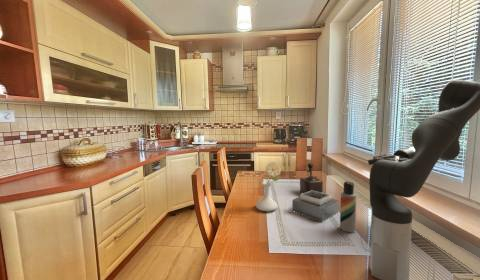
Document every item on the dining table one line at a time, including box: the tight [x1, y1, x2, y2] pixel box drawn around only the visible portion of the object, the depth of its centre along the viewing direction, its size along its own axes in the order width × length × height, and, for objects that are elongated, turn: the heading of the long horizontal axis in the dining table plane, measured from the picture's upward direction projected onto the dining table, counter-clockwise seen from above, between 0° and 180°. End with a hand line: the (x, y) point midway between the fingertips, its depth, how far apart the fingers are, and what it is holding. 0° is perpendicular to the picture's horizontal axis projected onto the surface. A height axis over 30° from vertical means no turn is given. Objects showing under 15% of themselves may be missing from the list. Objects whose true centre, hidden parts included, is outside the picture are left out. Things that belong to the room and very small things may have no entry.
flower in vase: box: [255, 161, 282, 212], centre depth 107 cm, size 13×11×25 cm
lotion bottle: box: [339, 180, 357, 233], centre depth 86 cm, size 6×6×20 cm
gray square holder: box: [291, 190, 340, 223], centre depth 104 cm, size 16×16×9 cm
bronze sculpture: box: [299, 162, 324, 194], centre depth 133 cm, size 16×11×18 cm
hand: (376, 164), depth 86 cm, fingers open, 8 cm apart
